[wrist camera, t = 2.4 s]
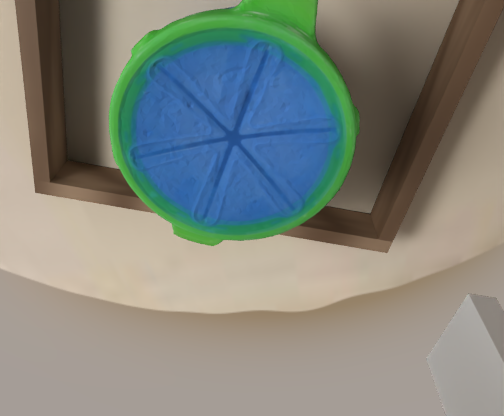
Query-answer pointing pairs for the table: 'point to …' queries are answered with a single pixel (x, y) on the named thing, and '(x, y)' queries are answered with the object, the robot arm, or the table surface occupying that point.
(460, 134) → the table surface
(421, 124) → the wooden frame
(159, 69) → the snack cup
